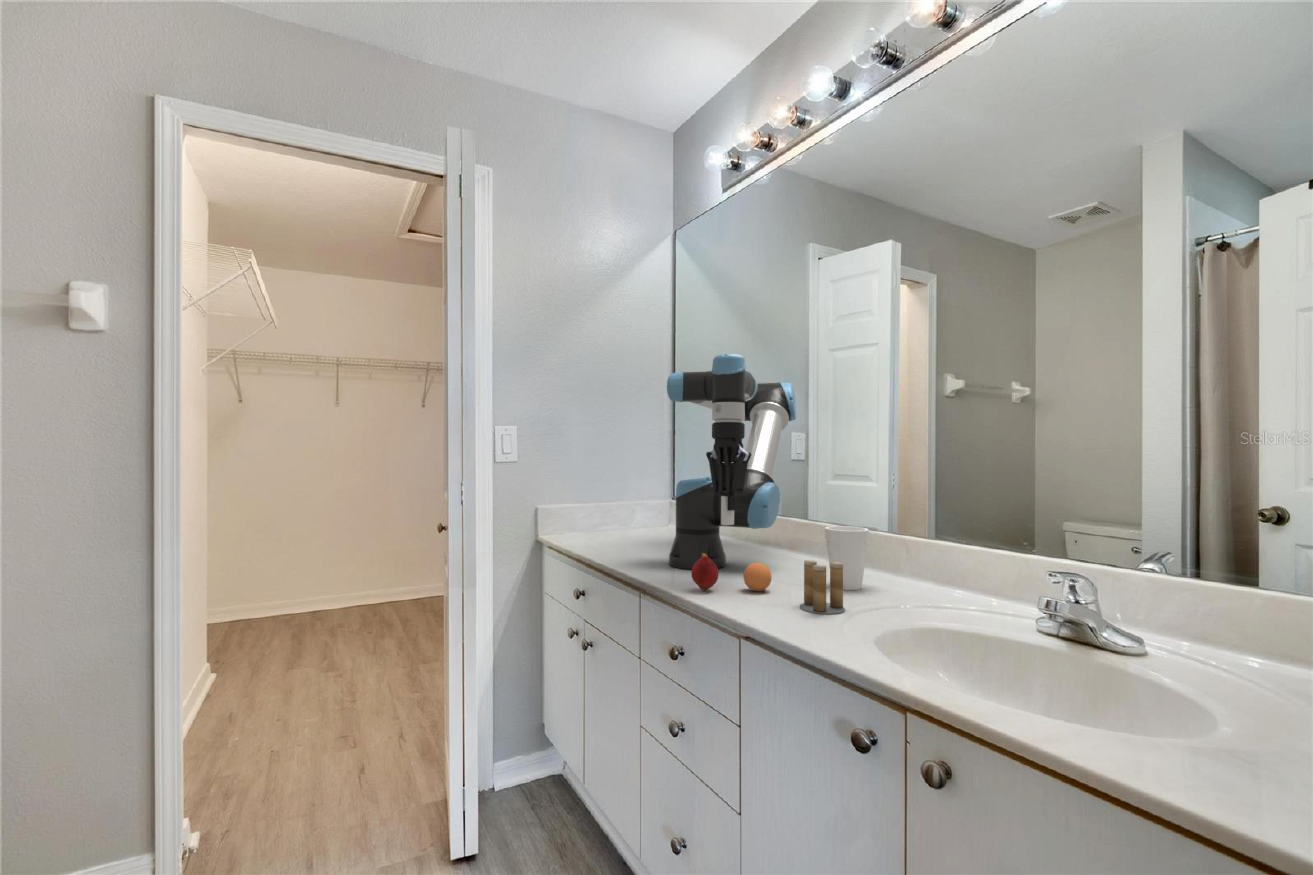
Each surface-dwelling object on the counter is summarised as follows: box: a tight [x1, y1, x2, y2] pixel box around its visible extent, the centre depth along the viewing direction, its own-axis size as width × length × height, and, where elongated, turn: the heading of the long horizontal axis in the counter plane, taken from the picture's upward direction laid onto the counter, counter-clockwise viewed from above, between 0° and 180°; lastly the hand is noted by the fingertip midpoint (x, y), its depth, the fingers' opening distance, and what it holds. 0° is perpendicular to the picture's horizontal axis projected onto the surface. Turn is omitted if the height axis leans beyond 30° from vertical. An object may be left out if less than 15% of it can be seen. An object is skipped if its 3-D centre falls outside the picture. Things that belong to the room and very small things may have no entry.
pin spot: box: [799, 602, 846, 615], centre depth 115 cm, size 8×8×1 cm
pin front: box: [803, 559, 818, 606], centre depth 118 cm, size 2×2×9 cm
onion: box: [690, 553, 719, 592], centre depth 129 cm, size 6×6×8 cm
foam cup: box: [824, 525, 870, 591], centre depth 135 cm, size 10×9×13 cm
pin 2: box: [829, 562, 844, 609], centre depth 116 cm, size 2×2×9 cm
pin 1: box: [813, 564, 827, 612], centre depth 113 cm, size 2×2×9 cm
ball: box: [743, 562, 772, 592], centre depth 130 cm, size 6×6×6 cm
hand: (727, 524), depth 137 cm, fingers closed
